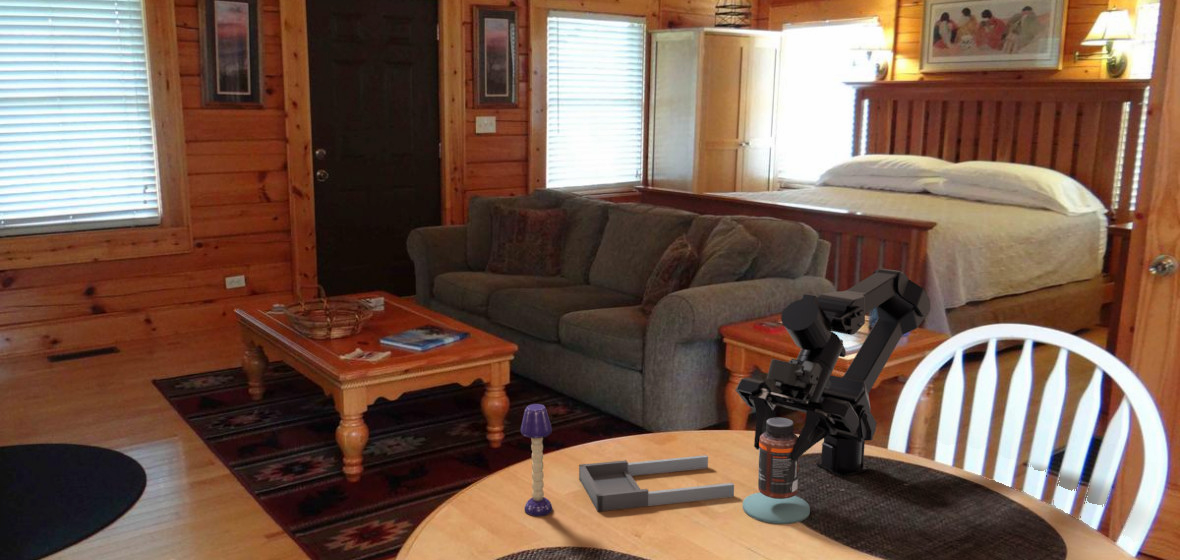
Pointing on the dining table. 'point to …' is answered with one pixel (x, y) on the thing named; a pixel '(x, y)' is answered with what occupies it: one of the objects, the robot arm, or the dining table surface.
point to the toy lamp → (537, 456)
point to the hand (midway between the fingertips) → (774, 453)
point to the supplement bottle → (778, 460)
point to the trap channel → (620, 491)
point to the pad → (776, 509)
